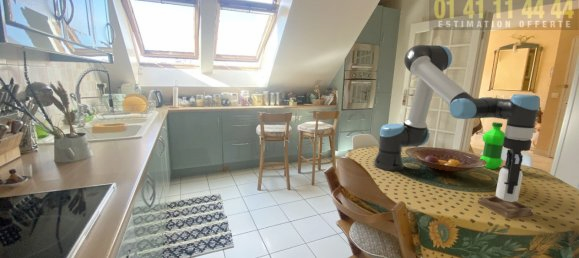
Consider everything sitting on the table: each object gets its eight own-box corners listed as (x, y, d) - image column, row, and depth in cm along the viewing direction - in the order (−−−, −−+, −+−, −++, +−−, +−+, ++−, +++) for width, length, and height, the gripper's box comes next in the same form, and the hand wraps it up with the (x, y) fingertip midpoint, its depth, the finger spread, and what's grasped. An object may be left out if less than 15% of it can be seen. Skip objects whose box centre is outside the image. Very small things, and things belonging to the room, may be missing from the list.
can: (491, 195, 98) (496, 166, 96) (502, 193, 101) (507, 164, 98) (510, 203, 92) (516, 172, 90) (521, 200, 95) (527, 170, 92)
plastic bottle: (503, 171, 135) (512, 125, 130) (479, 168, 140) (486, 123, 135) (499, 166, 144) (508, 122, 138) (477, 163, 149) (484, 120, 144)
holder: (506, 218, 91) (507, 211, 90) (477, 202, 102) (478, 196, 101) (532, 215, 93) (534, 209, 92) (501, 200, 104) (502, 194, 103)
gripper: (538, 145, 82) (524, 211, 86) (526, 134, 97) (515, 190, 102) (507, 141, 86) (496, 204, 91) (501, 131, 102) (491, 186, 106)
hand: (506, 197), depth 96 cm, fingers closed on can, 6 cm apart
